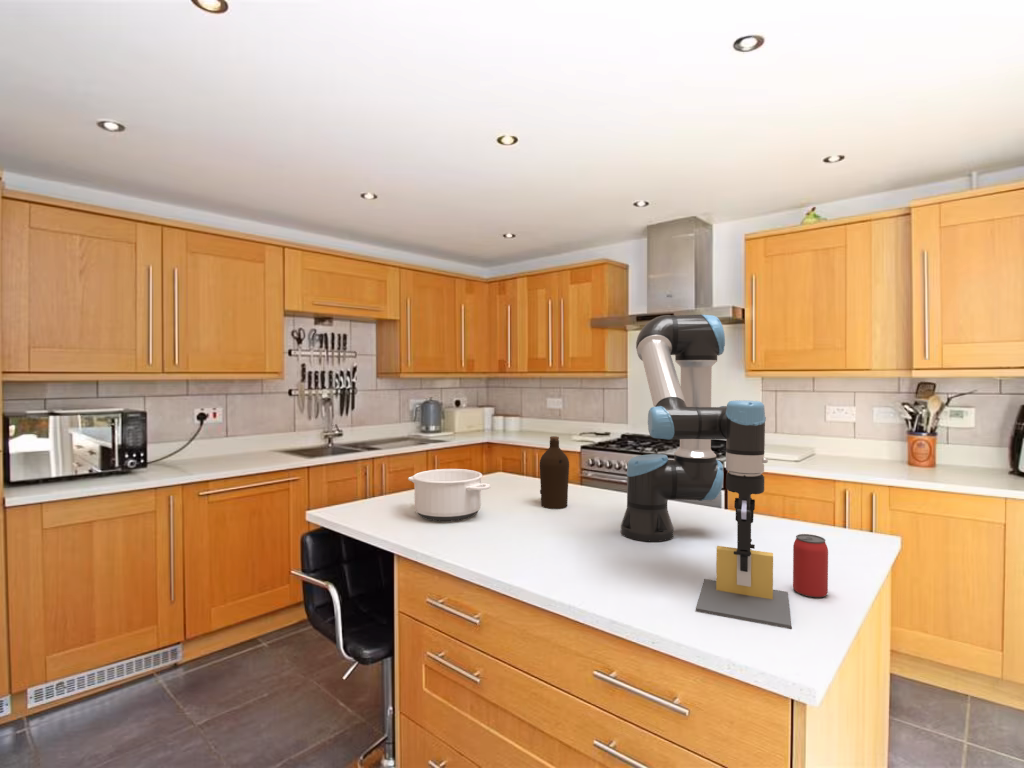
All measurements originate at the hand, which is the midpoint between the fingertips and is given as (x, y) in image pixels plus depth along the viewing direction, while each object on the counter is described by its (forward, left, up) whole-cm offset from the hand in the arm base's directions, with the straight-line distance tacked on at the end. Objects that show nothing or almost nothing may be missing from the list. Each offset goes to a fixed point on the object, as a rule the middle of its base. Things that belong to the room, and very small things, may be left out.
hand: (744, 581), depth 113 cm
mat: (0, -4, -3) cm, 5 cm away
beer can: (+13, +8, -3) cm, 15 cm away
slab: (0, 0, -2) cm, 2 cm away
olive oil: (-64, +55, -3) cm, 85 cm away
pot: (-92, +28, -3) cm, 97 cm away
